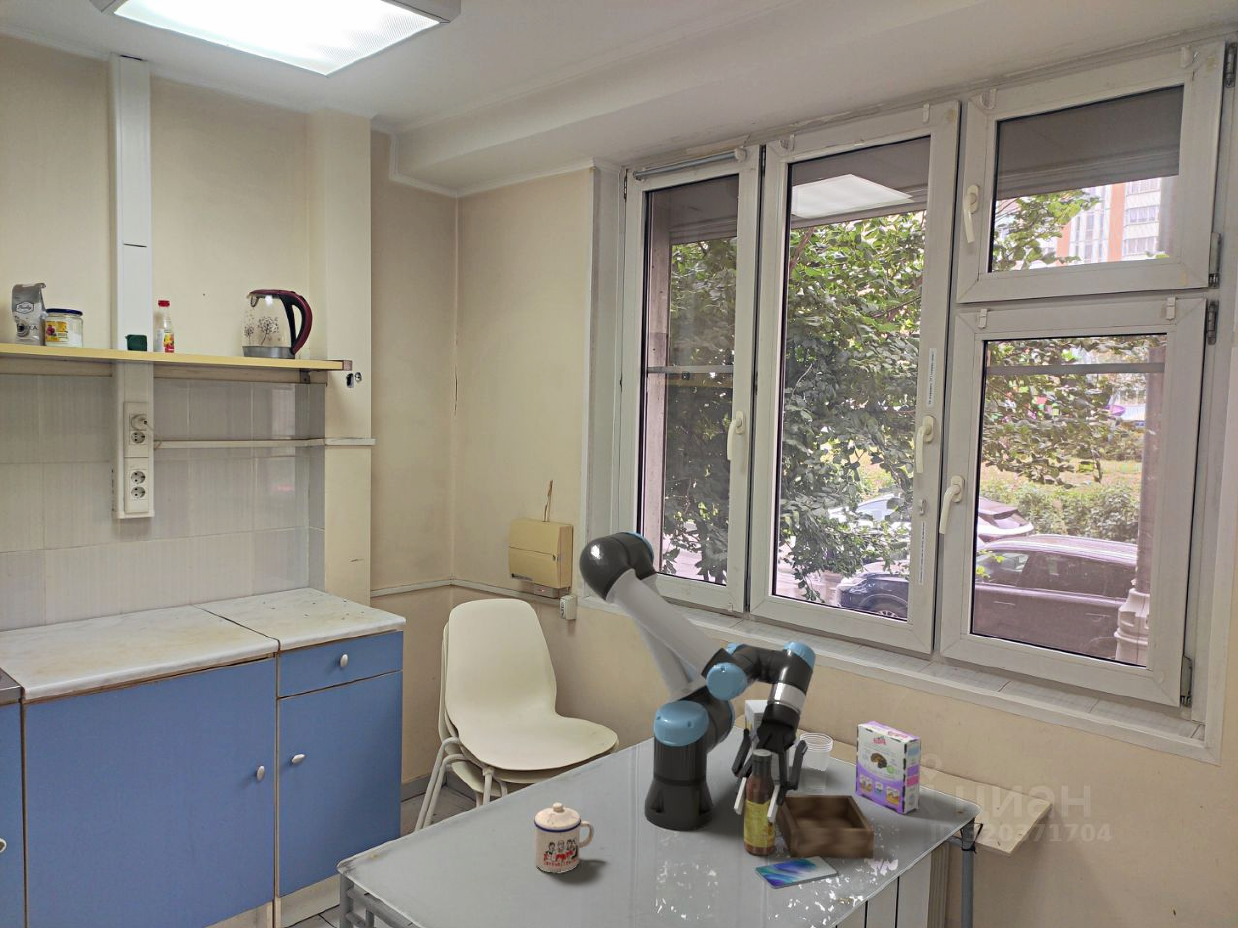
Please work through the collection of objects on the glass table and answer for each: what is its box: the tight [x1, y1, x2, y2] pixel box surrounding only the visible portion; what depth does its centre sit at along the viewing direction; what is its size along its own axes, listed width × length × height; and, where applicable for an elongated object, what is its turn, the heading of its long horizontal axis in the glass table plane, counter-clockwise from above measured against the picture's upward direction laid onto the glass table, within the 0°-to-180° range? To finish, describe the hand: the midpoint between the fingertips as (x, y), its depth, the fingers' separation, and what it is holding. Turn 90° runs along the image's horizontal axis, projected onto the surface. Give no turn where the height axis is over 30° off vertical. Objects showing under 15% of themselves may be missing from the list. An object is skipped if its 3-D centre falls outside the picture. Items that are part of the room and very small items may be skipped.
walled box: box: [775, 794, 875, 859], centre depth 185 cm, size 16×16×6 cm
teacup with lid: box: [533, 802, 595, 872], centre depth 173 cm, size 12×9×12 cm
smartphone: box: [754, 856, 840, 890], centre depth 171 cm, size 7×1×15 cm
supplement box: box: [743, 699, 791, 781], centre depth 217 cm, size 10×9×17 cm
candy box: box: [854, 720, 922, 815], centre depth 202 cm, size 14×6×16 cm, turn 34°
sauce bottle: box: [743, 749, 777, 856], centre depth 179 cm, size 7×6×20 cm
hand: (753, 815), depth 176 cm, fingers closed on sauce bottle, 6 cm apart
